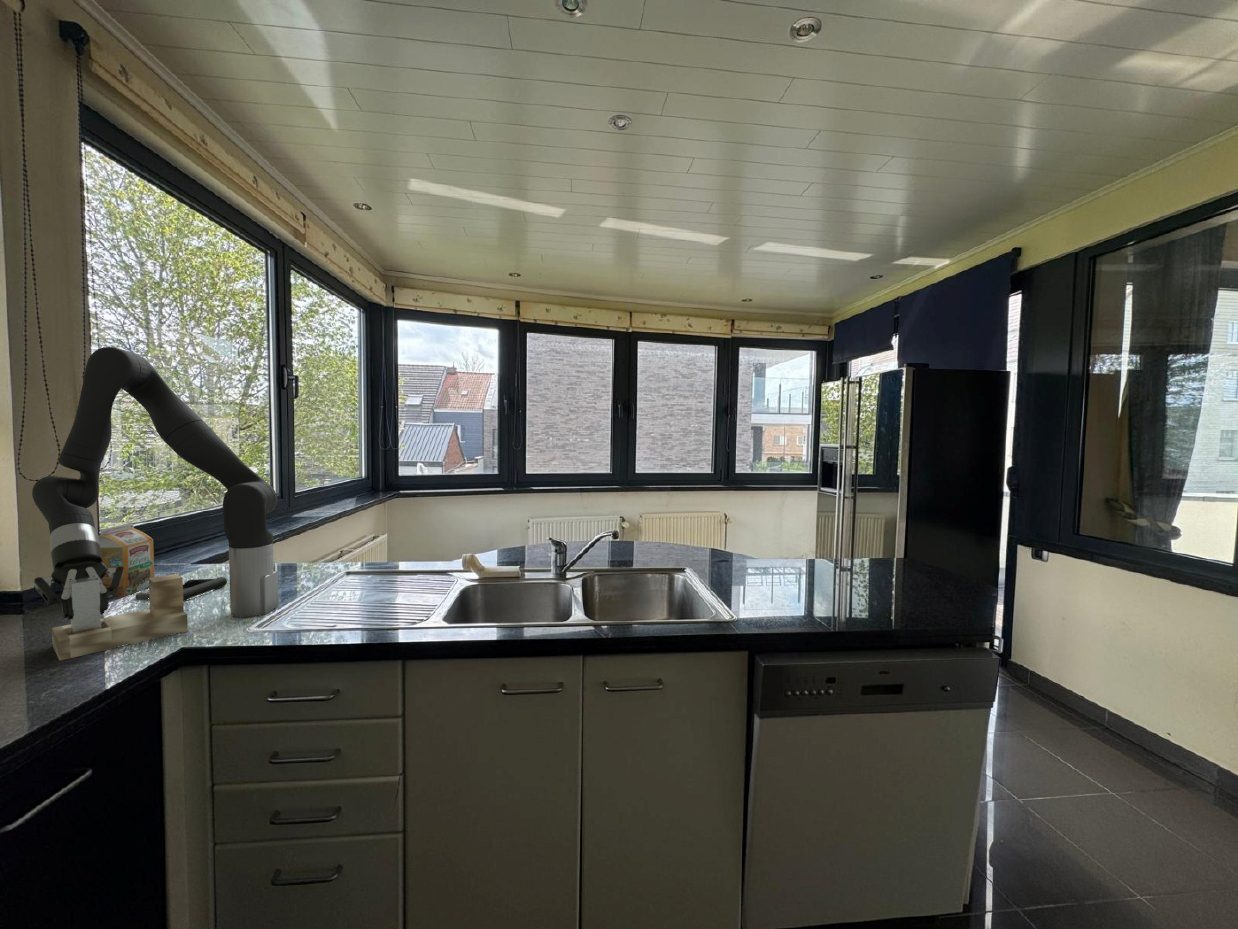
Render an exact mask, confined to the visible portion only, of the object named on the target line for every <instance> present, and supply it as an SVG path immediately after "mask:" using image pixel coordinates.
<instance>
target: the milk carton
mask: <svg viewBox="0 0 1238 929" xmlns="http://www.w3.org/2000/svg"><path fill="white" fill-rule="evenodd" d="M134 525H135V524H134V523H127V524H122V525H116V526H112V527H107V528H102V529H100V531H99V532H100V533H99V535H98V538H99V543H100V548H101V553H102V559H103V563H104V564H105V565H106V566H107V567H108V568H117V567H119V566H122V567H124V570H123V574H122V578H121V581H120V584H119V587H118V589H117V592H116V594H115V595H109V596H107V598H108V599H112V598H111V597H125V596H127V595H130V596H133V595H135V594H134V593H136V592H139V591H141V590H143V589H147V590H149V589H148V588H149V578H154V577H156V576H155V561H154V560H155V553H154V552H155V550H154V539H153V538H152V537H151V536H149V535H148V534H146V533H145V532H143V531H141V530H139V529H136V528H135V526H134ZM112 580H113V579H111V578H110V577H109V574H106V575H105V576H104V577H103V578H102V579H101V581H102V583H103V585H104V587H105V588H108V587H110V586H111V583H112ZM141 592H142V591H141ZM139 593H140V592H139ZM132 594H133V595H132ZM136 594H137V593H136ZM125 598H126V597H125Z"/></svg>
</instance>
